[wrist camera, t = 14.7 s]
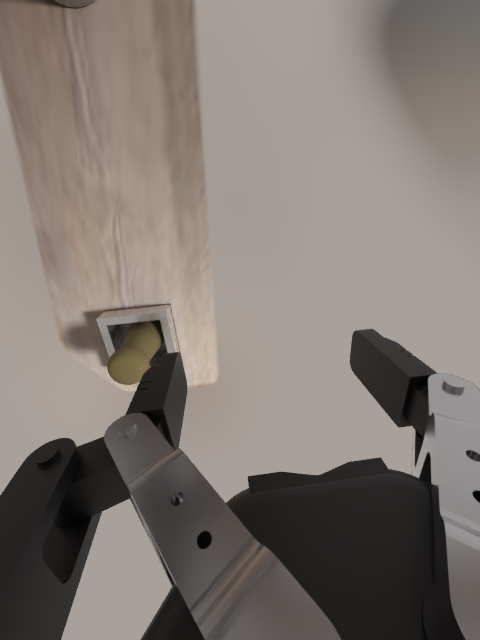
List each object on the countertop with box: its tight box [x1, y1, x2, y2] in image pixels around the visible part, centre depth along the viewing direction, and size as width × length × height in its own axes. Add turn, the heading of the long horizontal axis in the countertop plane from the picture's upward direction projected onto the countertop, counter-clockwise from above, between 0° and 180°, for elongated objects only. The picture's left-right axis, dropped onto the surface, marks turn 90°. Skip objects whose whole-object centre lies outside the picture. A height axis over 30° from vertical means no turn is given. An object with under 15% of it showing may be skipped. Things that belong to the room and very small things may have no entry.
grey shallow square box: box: [96, 304, 181, 368], centre depth 42 cm, size 10×10×3 cm
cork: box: [107, 320, 164, 385], centre depth 38 cm, size 6×6×11 cm
